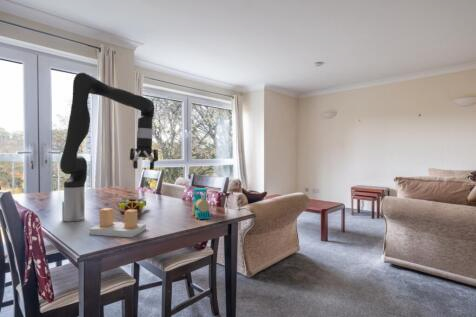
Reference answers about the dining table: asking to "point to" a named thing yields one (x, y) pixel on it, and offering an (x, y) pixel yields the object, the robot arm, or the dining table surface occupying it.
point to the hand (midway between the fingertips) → (143, 169)
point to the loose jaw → (130, 219)
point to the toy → (132, 204)
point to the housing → (117, 230)
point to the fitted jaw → (106, 217)
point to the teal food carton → (200, 204)
